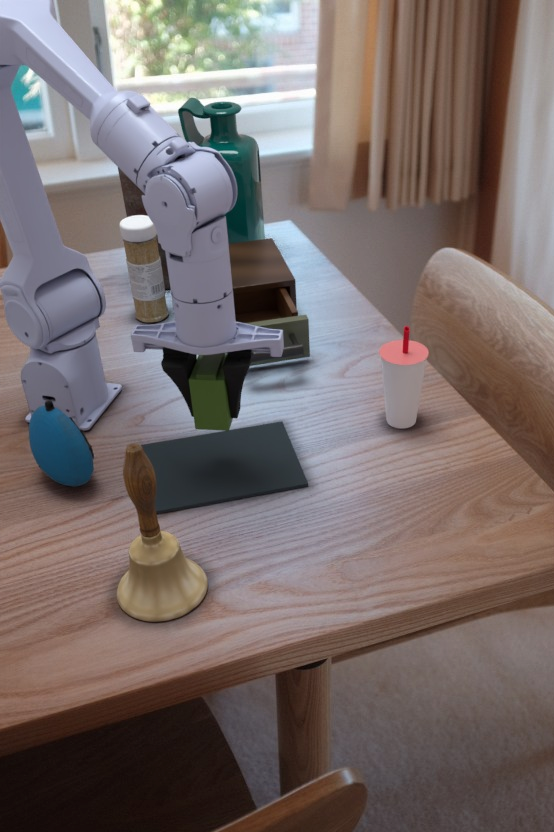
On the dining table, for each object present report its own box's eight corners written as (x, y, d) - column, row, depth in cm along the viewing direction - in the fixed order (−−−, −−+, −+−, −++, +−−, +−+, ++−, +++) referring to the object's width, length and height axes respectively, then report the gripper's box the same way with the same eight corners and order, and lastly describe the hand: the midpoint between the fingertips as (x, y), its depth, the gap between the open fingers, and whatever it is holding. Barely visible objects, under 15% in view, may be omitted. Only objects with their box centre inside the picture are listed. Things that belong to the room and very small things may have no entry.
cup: (427, 432, 102) (433, 337, 94) (379, 434, 102) (381, 339, 94) (421, 406, 106) (426, 313, 98) (376, 408, 106) (377, 315, 98)
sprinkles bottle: (158, 305, 126) (143, 210, 118) (175, 317, 124) (161, 221, 115) (129, 315, 124) (112, 219, 115) (145, 327, 121) (130, 230, 113)
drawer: (318, 373, 110) (317, 335, 107) (234, 387, 108) (230, 347, 105) (287, 311, 123) (285, 275, 119) (210, 322, 120) (206, 285, 117)
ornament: (112, 483, 95) (95, 403, 89) (78, 506, 93) (57, 425, 86) (61, 455, 99) (41, 377, 93) (27, 476, 96) (3, 396, 90)
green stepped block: (229, 431, 91) (223, 375, 87) (195, 429, 92) (187, 374, 88) (237, 403, 95) (232, 349, 91) (204, 402, 96) (198, 348, 91)
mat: (308, 486, 95) (308, 483, 94) (155, 514, 91) (154, 511, 91) (282, 424, 104) (282, 421, 103) (141, 447, 100) (141, 444, 100)
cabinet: (297, 329, 121) (295, 279, 116) (211, 341, 118) (205, 291, 114) (275, 285, 131) (272, 237, 126) (195, 296, 128) (189, 248, 124)
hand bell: (100, 611, 81) (63, 469, 71) (142, 551, 87) (114, 412, 77) (185, 631, 79) (159, 488, 69) (222, 568, 85) (203, 428, 75)
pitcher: (267, 245, 141) (258, 95, 127) (256, 268, 135) (244, 113, 121) (206, 242, 142) (190, 93, 128) (192, 265, 136) (173, 111, 122)
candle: (127, 286, 131) (102, 144, 118) (150, 265, 136) (128, 127, 123) (176, 293, 129) (156, 149, 116) (197, 271, 134) (180, 131, 122)
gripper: (284, 273, 87) (291, 393, 96) (136, 269, 88) (156, 388, 97) (274, 307, 81) (282, 431, 90) (116, 302, 83) (139, 426, 91)
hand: (216, 412), depth 93 cm, fingers closed on green stepped block, 3 cm apart
